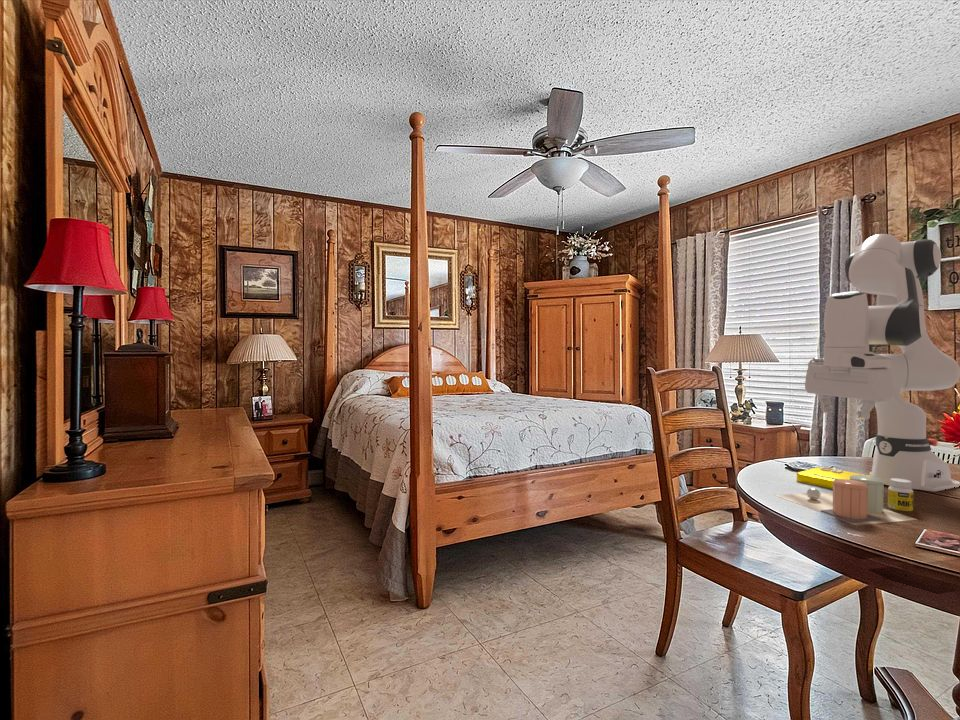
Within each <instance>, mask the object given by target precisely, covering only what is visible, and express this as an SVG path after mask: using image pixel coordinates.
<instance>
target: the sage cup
mask: <svg viewBox="0 0 960 720" xmlns="http://www.w3.org/2000/svg"><path fill="white" fill-rule="evenodd" d="M850 480H855V481H860V482H863V483H866V484H867V487H868V513H873V514H878V513H883V509H884V500H885V499H884V488H885V487H884V485H885V484H884V483H883V480H882V479H879V478H875V477H870V476H860V475H854V476H850Z"/></svg>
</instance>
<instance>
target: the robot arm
mask: <svg viewBox="0 0 960 720" xmlns="http://www.w3.org/2000/svg"><path fill="white" fill-rule="evenodd" d="M941 262H942V252H941V249H940V247H939V246H938V244H937V243H936V242H935V241H934V240H932V239H929V238H928V239H927V238H926V239H925V238H924V239H921V238H920V239H916V240H912V241H902V242H901V240H899V238H897V237H896V236H894V235H892V234H888V233H878V234H874V235H872V236H869V237H868V238H866V239H865V240H864V241H863V242H862V243H861V244H860V246H859V247H858V248H857V249H856V251H855V252H853V253H852V254H850V255H849V256H848V257H847V258H846V259H845V263H844V267H843V268H844V269H843V270H844V271H843V272H844V275H845V277H846V279H847V281H848V282H849V283H851V285H852V286H853V287H854V288H855V289H857V290H859V291H856V290H855V291H841V292H836V293H832V294H830V295H829V296H827V300H826V303H825V309H824V315H823V318H824V319H823V333H824V336H825V339H824V340H825V341H824V343H823V357H821V358H820V357H813V358H812V359H811V360H810V361H808V364H807V365H808V366H807V370H806V374H805V381H804V389H805V391H806V393H808V394H814V395H817V399H818V401H819V403H820V405H821V406H822V409H821V410H822V411H821V413H823V414H833V413H834V405H831V403H830V401H829V399H830V398H831V397H837V398H838V397H839V398H847V399H853V400H854V399H855V400H861V404H862V405H863V407H862V409H861V410H857V418H858V419H861V420H869V419H871V418H870V417H871V412H872V410H873V409H874V408H875V411H876V417H877V420H876V421H877V433H876V435H875V437H874V438H875V439H874V440H875V446H876V449H875V450H874V453H873V459H872V467H871V471H870V472H869V474H868V475H869V476H873V477H875V478H879V479H882V480H883V483H884V485H886V486H888V487H889V486H891V485H890V479H891V478H899V479H905V480H909V481H911V483H912V486H911V489H912V490H920V491H927V492H940V491H945V489H946V490H951V489H955V488H959V486H960V481H958V480H955V479H953V478H951V477H952V476H951V473H952V472H951V467H950V465H949V463H947V462H946V461H945V460H943V459H942V458H941V457H940V456H938V455H937V454H936V453H934V452H933V451H932V448H931V446H933V447H937V446H938V444H939V440H937V439H936V438H927V415H926V412H925V410H924V409H922V407H920V406H918V405H916V404H914V403H912V402H910V401H907V400H905V399H903V397H902V395H901V392H902V391H914V392H915V391H916V392H917V391H919V392H920V391H921V392H922V391H924V392H933V391H941V390H946V389H952V387H954V386H955V385H956V384H957V383H958V382H959V380H960V365H959V363H958V362H957V361H956V360H955V359H954V358H953V357H952V356H950V355H948V354H946V353H945V352H943V351H942V350H940V349H939V348H938V347H937V346H936V345H935V344H934V343H933V341H932V340H931V338H930V336H929V334H928V331H927V327H926V316H925V302H924V295H923V288H922V285H921V283H920V280H921V282H922V283H923V282H924V283H925V282H926V281H927V279H928V277H930V276H932V275H933V274H934V273H936V272H937V271H938V270H939V268H940V264H941ZM867 294H870V295H876V302H875V303H876V304H875V305H869V302H868V301H869V300H868V297H867V296H868V295H867ZM870 345H890V346H897V347H899V349H900V350H901V353H876V352H873V351H871V350H870ZM954 487H955V488H954Z"/></svg>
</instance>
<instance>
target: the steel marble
mask: <svg viewBox="0 0 960 720" xmlns="http://www.w3.org/2000/svg"><path fill="white" fill-rule="evenodd" d="M820 492H821V491H820V490H819V489H818V488H814V487H811V488H809V489H807V491H806V493H807V496H808V497H809V498H810V499H811V500H818V499H819V498H820V496H821V494H820Z"/></svg>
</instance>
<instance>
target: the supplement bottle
mask: <svg viewBox="0 0 960 720" xmlns="http://www.w3.org/2000/svg"><path fill="white" fill-rule="evenodd" d="M890 485H891V486H889V485H888V488H887V507H888V508H889V509H892V510H895V511H900V512H901V511H902V512H913V510H914V489H911V486H912V483H911V481H909V480H905V479H899V478H891V479H890Z"/></svg>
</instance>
